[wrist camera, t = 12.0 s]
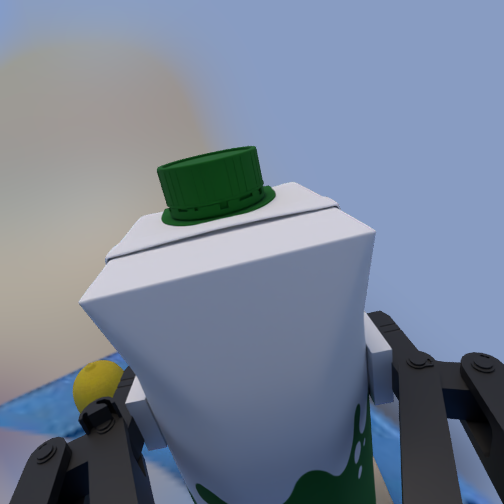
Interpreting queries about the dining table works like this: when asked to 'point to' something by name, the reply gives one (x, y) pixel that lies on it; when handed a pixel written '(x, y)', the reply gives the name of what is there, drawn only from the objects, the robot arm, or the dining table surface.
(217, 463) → the fresh milk carton
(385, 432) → the dining table surface
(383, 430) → the dining table surface
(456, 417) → the robot arm
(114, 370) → the lemon
